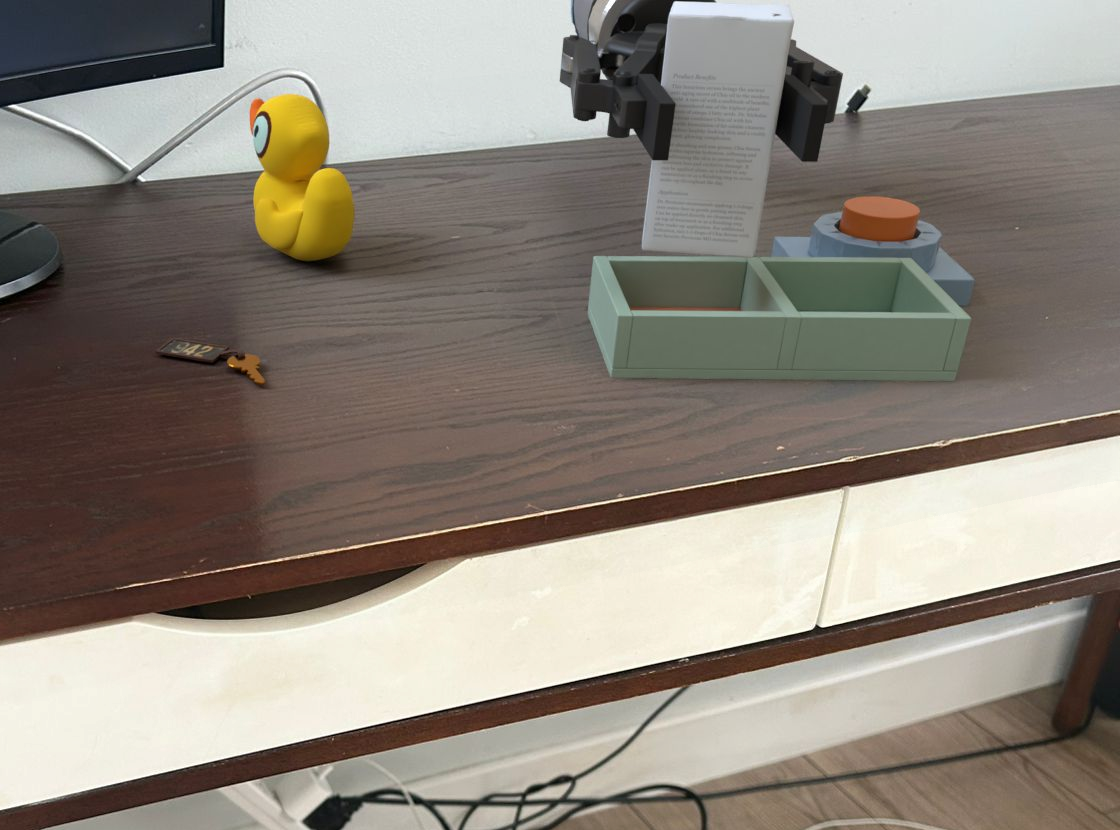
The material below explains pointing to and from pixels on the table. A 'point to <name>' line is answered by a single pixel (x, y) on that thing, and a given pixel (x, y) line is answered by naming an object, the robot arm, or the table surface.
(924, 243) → the button base
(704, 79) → the cosmetic box
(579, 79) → the robot arm
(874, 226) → the button
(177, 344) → the key tag
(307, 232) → the duckling
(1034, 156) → the table surface
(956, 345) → the tray
